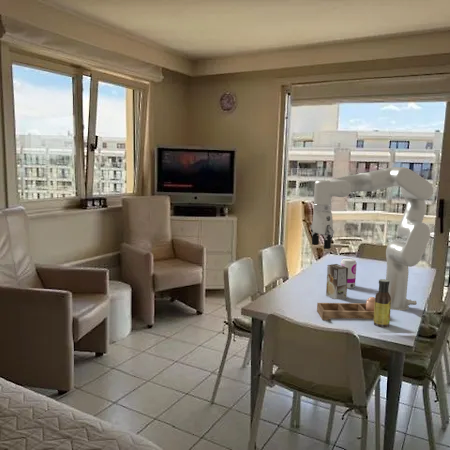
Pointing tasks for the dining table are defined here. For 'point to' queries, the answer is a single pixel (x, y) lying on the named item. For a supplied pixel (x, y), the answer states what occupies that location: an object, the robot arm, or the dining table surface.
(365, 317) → the caddy
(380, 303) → the sauce bottle
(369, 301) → the brown egg
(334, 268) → the coffee box
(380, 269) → the dining table surface
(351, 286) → the supplement can
